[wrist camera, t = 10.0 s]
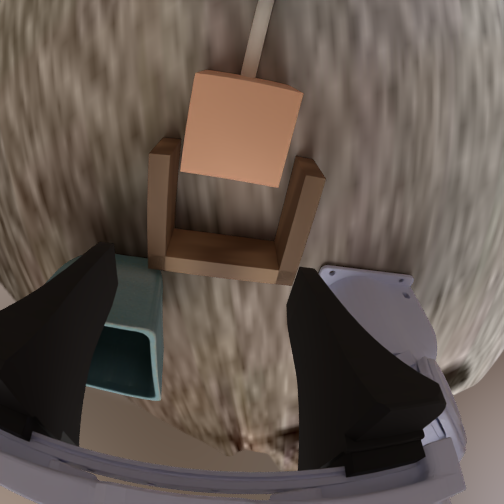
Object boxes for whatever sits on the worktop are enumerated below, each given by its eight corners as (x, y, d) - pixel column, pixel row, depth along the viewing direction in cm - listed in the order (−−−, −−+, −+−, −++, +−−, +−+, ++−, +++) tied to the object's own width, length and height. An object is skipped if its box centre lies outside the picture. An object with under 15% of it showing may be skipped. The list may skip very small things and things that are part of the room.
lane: (313, 159, 20) (326, 179, 17) (285, 255, 24) (291, 285, 21) (163, 137, 18) (149, 153, 16) (158, 239, 23) (148, 268, 20)
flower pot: (75, 226, 22) (22, 304, 15) (178, 240, 23) (155, 332, 16) (89, 303, 27) (58, 379, 20) (175, 318, 28) (161, 402, 21)
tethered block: (319, -39, 12) (350, -70, 7) (269, 157, 20) (280, 196, 15) (237, -56, 11) (237, -96, 6) (193, 144, 19) (176, 179, 14)
